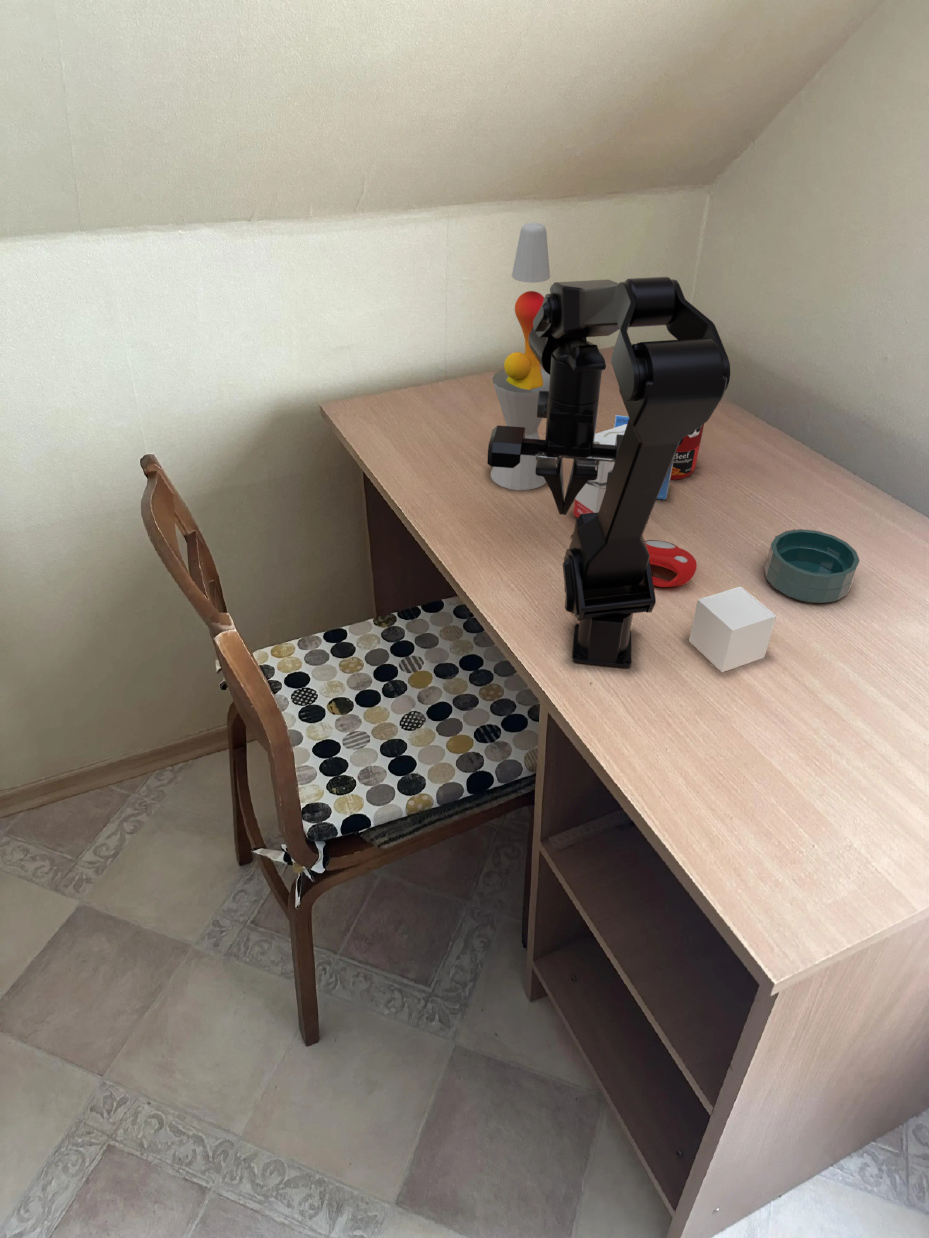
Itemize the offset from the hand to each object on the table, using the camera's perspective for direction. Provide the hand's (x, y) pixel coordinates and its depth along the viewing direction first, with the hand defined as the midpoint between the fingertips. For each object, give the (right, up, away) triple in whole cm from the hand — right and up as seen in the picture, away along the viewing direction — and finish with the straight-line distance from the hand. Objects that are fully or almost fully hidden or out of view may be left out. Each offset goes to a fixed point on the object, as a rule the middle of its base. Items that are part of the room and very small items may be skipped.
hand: (562, 513), depth 111 cm
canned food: (+19, +9, +24) cm, 32 cm away
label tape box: (+13, +5, +18) cm, 23 cm away
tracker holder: (+11, -7, +3) cm, 13 cm away
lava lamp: (-4, +8, +22) cm, 23 cm away
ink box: (+8, +1, +13) cm, 15 cm away
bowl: (+31, -9, +1) cm, 32 cm away
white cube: (+18, -17, -9) cm, 26 cm away
